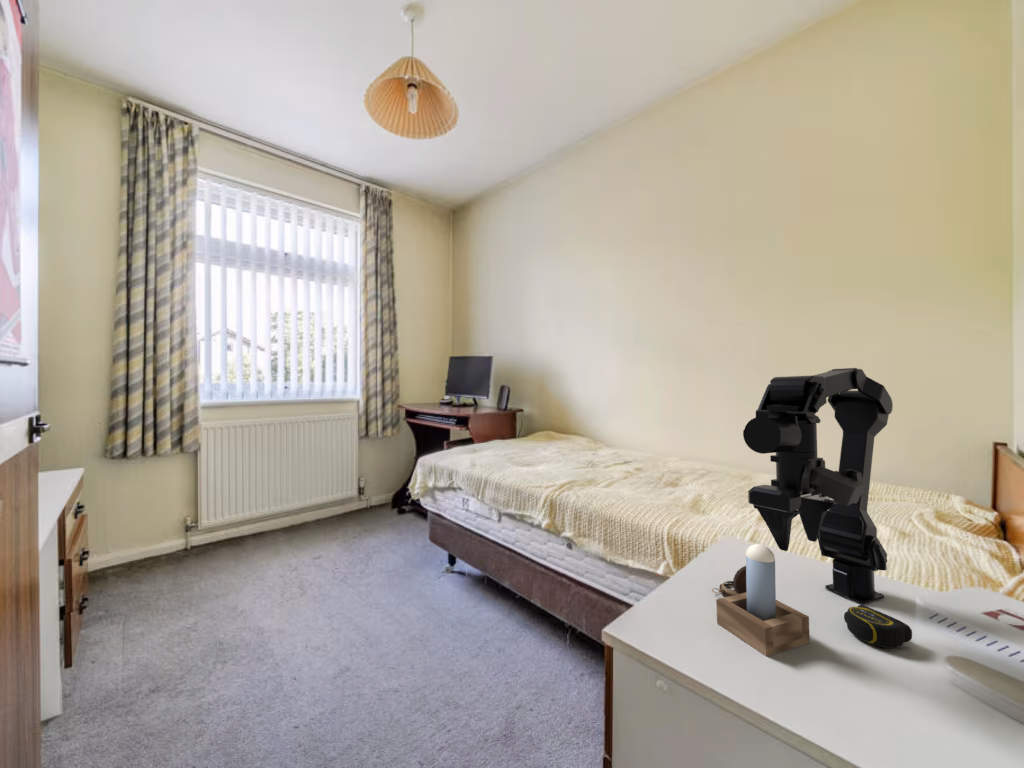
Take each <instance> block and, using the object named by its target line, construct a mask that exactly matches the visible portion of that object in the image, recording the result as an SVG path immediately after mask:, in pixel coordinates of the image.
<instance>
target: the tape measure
mask: <svg viewBox="0 0 1024 768" xmlns="http://www.w3.org/2000/svg"><path fill="white" fill-rule="evenodd" d="M843 619H844V622H845V624H846V626H847V629H848V631H849V632H850V633H851V634H852V635H853V636H855V637H857V638H858V639H859V640H862V641H864V642H867V643H869V644H871V645H875V646H878V647H881V648H889V649H896V648H900V647H902V646H903V644H906V643H908V642H910V641H911V640H912V639H913V631H912V628H911V627H910V626H909V625H908V624H906V623H905V622H903V621H901V620H899V619H897V618H895V617H892V616H891V615H888V614H886V613H883V612H881V611H878V610H877V609H874V608H872V607H869V606H867V605H866V604H860V605H858V606H851V607H849V608H847V611H846V612H844V615H843Z"/></svg>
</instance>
